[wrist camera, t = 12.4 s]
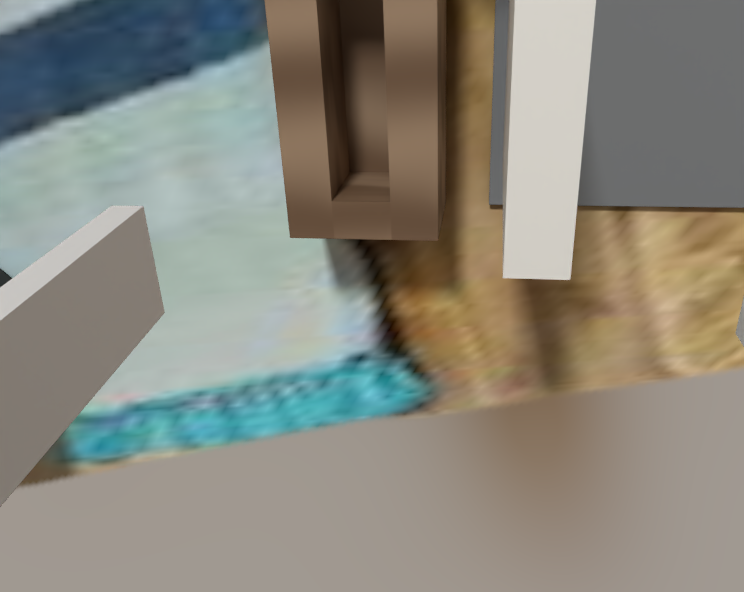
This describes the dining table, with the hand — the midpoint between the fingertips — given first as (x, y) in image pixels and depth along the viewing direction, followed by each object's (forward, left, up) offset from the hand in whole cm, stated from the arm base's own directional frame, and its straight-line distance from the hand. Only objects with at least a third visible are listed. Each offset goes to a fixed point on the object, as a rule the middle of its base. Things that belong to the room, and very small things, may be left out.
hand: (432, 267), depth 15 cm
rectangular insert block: (+2, -2, -26) cm, 26 cm away
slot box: (-4, +4, -26) cm, 27 cm away
